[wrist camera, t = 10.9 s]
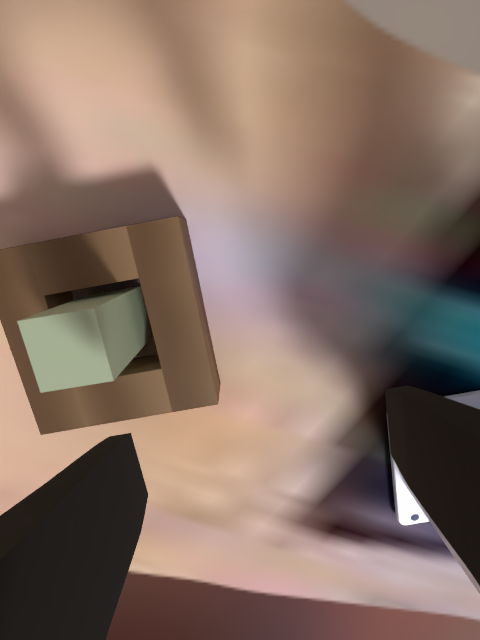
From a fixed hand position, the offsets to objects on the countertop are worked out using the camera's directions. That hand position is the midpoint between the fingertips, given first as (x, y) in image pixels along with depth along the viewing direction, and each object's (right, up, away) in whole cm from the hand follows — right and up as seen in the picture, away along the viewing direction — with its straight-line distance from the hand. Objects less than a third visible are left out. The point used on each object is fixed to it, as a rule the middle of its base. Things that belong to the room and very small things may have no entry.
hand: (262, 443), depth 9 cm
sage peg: (-7, +4, +9) cm, 12 cm away
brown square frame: (-7, +3, +9) cm, 12 cm away
